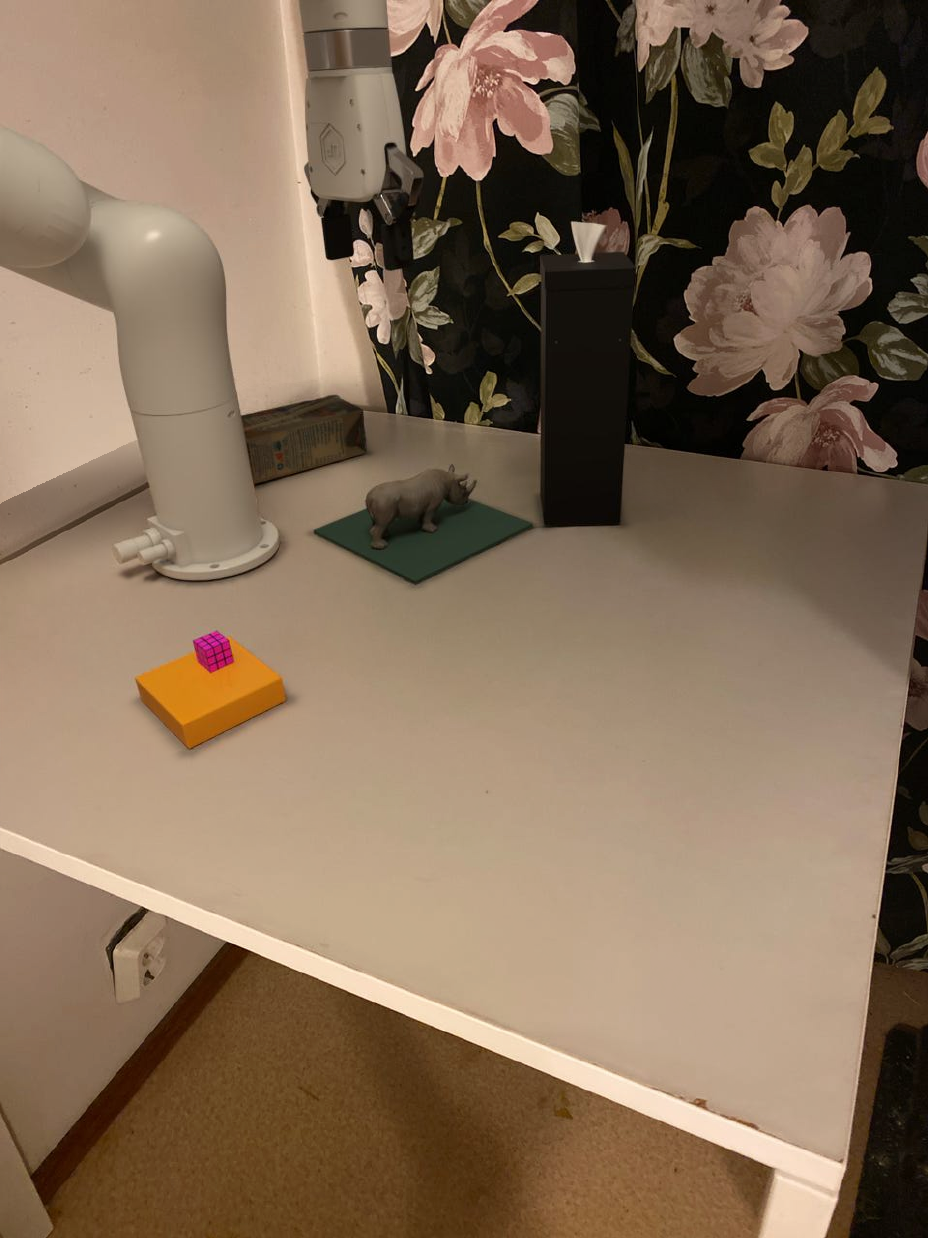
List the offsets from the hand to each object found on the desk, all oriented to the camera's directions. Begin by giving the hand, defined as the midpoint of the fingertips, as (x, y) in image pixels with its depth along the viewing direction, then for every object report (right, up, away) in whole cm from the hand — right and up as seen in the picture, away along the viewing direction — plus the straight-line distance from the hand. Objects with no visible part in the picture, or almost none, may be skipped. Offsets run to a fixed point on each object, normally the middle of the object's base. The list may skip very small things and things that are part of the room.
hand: (368, 262), depth 86 cm
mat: (+5, -26, +3) cm, 27 cm away
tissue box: (+22, -24, +6) cm, 33 cm away
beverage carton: (-12, -17, +20) cm, 29 cm away
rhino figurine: (+6, -26, +3) cm, 27 cm away
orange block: (-10, -42, -20) cm, 47 cm away
